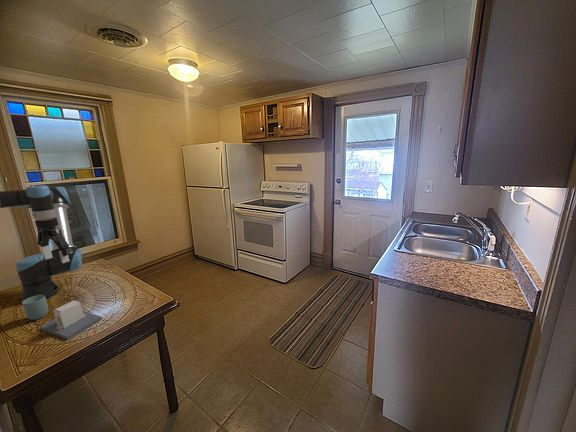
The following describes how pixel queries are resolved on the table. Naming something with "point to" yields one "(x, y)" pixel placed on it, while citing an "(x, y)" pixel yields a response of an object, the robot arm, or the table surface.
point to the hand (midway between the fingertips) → (57, 260)
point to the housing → (68, 313)
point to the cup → (35, 307)
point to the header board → (71, 326)
